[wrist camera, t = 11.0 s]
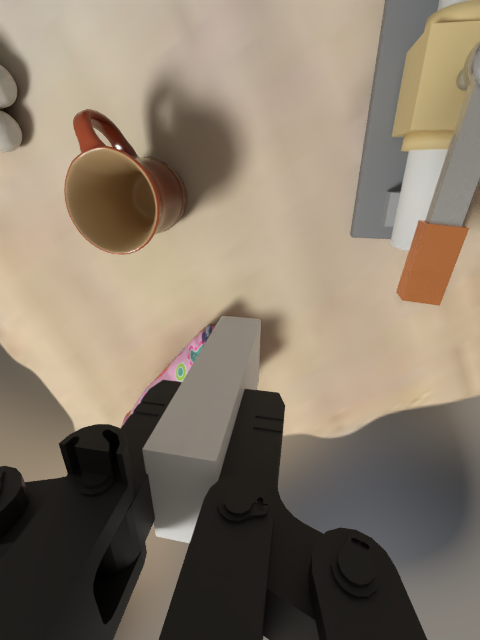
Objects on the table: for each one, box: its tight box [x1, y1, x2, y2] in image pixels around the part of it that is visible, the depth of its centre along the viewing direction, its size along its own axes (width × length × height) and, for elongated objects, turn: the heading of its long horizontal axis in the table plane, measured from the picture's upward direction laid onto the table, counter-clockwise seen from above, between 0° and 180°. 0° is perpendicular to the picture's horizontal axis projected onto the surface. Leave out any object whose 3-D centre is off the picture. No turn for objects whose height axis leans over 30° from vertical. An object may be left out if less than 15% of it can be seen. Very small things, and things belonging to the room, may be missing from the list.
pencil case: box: [122, 324, 215, 426], centre depth 43 cm, size 21×9×9 cm, turn 139°
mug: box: [65, 109, 187, 254], centre depth 32 cm, size 12×9×10 cm
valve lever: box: [397, 41, 480, 305], centre depth 21 cm, size 16×3×2 cm, turn 175°
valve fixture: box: [350, 0, 480, 251], centre depth 24 cm, size 24×10×11 cm, turn 0°
